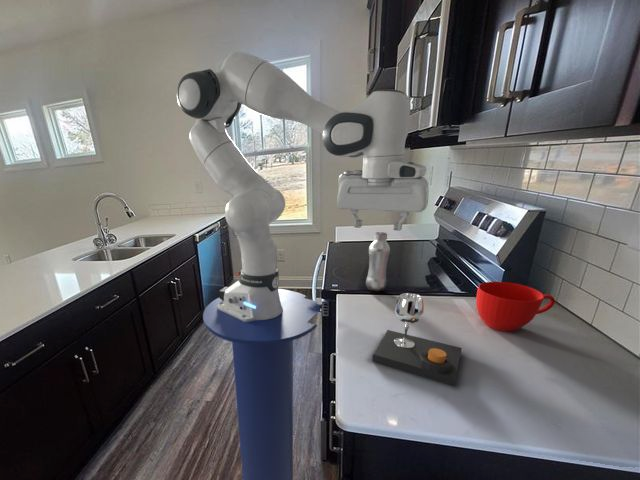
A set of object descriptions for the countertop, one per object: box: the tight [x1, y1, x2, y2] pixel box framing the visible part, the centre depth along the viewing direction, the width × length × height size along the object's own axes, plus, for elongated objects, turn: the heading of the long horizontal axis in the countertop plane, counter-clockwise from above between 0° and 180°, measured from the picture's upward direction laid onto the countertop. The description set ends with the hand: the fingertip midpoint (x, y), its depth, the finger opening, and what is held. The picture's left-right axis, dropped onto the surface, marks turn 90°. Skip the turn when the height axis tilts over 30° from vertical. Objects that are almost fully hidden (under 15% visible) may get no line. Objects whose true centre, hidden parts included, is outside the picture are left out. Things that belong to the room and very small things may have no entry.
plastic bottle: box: [365, 231, 391, 292], centre depth 107 cm, size 6×7×20 cm
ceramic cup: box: [475, 281, 556, 332], centre depth 82 cm, size 13×17×10 cm
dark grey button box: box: [371, 329, 463, 387], centre depth 72 cm, size 16×13×4 cm
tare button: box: [428, 348, 447, 364], centre depth 67 cm, size 3×3×2 cm
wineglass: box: [394, 292, 425, 348], centre depth 73 cm, size 6×6×12 cm
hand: (376, 228), depth 78 cm, fingers open, 8 cm apart
